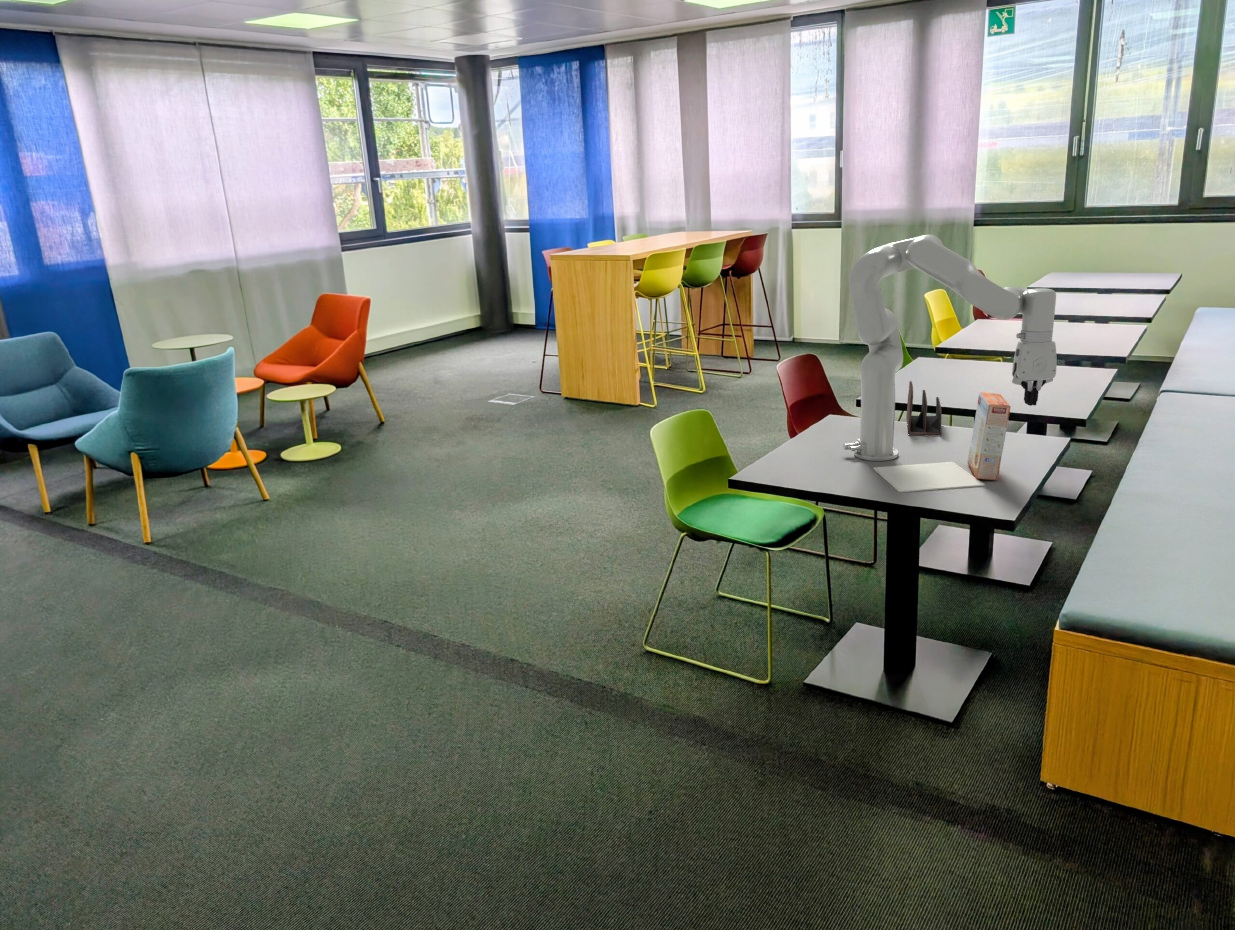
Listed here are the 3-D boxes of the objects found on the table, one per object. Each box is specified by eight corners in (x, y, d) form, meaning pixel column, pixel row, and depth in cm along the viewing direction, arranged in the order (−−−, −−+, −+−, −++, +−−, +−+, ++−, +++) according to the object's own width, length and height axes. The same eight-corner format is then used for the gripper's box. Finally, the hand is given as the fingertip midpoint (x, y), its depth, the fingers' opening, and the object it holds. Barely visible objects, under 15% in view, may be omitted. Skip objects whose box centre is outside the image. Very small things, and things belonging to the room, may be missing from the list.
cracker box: (998, 481, 242) (1012, 405, 236) (975, 479, 244) (987, 404, 237) (989, 465, 255) (1001, 392, 249) (966, 463, 257) (978, 391, 250)
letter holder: (907, 435, 287) (909, 392, 282) (906, 418, 305) (908, 377, 300) (941, 436, 284) (943, 392, 280) (937, 419, 302) (940, 378, 298)
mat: (899, 492, 239) (899, 491, 238) (873, 468, 258) (873, 467, 257) (984, 486, 240) (984, 484, 240) (952, 462, 259) (952, 461, 259)
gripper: (1015, 341, 235) (1010, 409, 240) (1072, 337, 236) (1064, 405, 241) (1002, 336, 242) (996, 402, 248) (1056, 332, 243) (1050, 399, 248)
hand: (1030, 404), depth 244 cm, fingers closed
